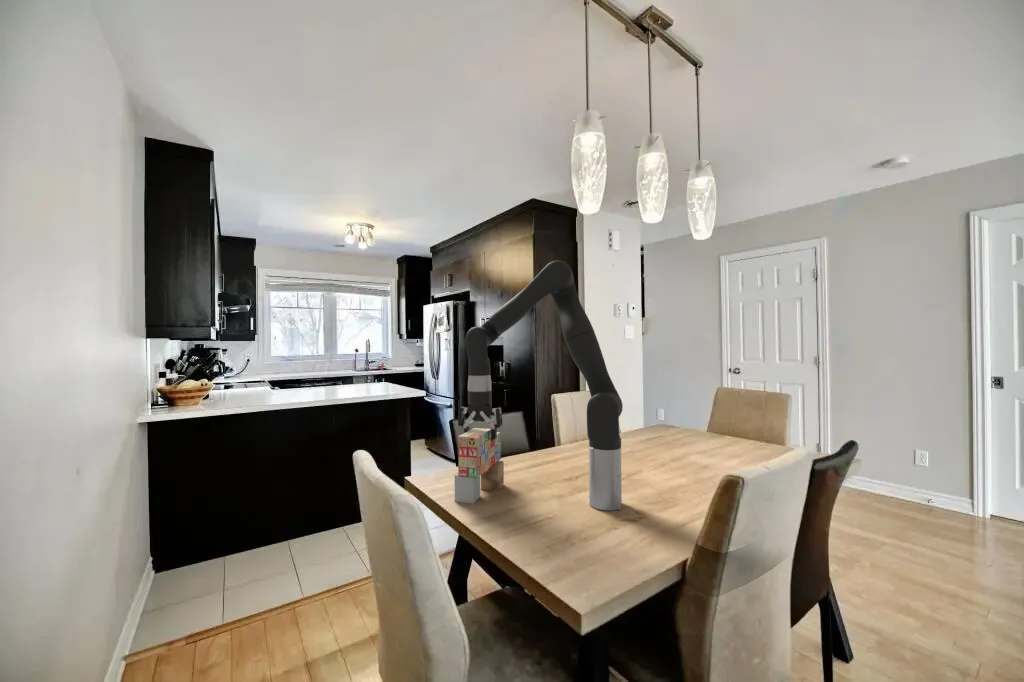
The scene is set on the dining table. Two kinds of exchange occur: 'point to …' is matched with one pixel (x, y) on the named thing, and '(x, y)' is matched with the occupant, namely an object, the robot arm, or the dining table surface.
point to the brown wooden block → (493, 477)
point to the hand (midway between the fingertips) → (480, 440)
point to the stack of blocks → (477, 452)
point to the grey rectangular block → (467, 489)
